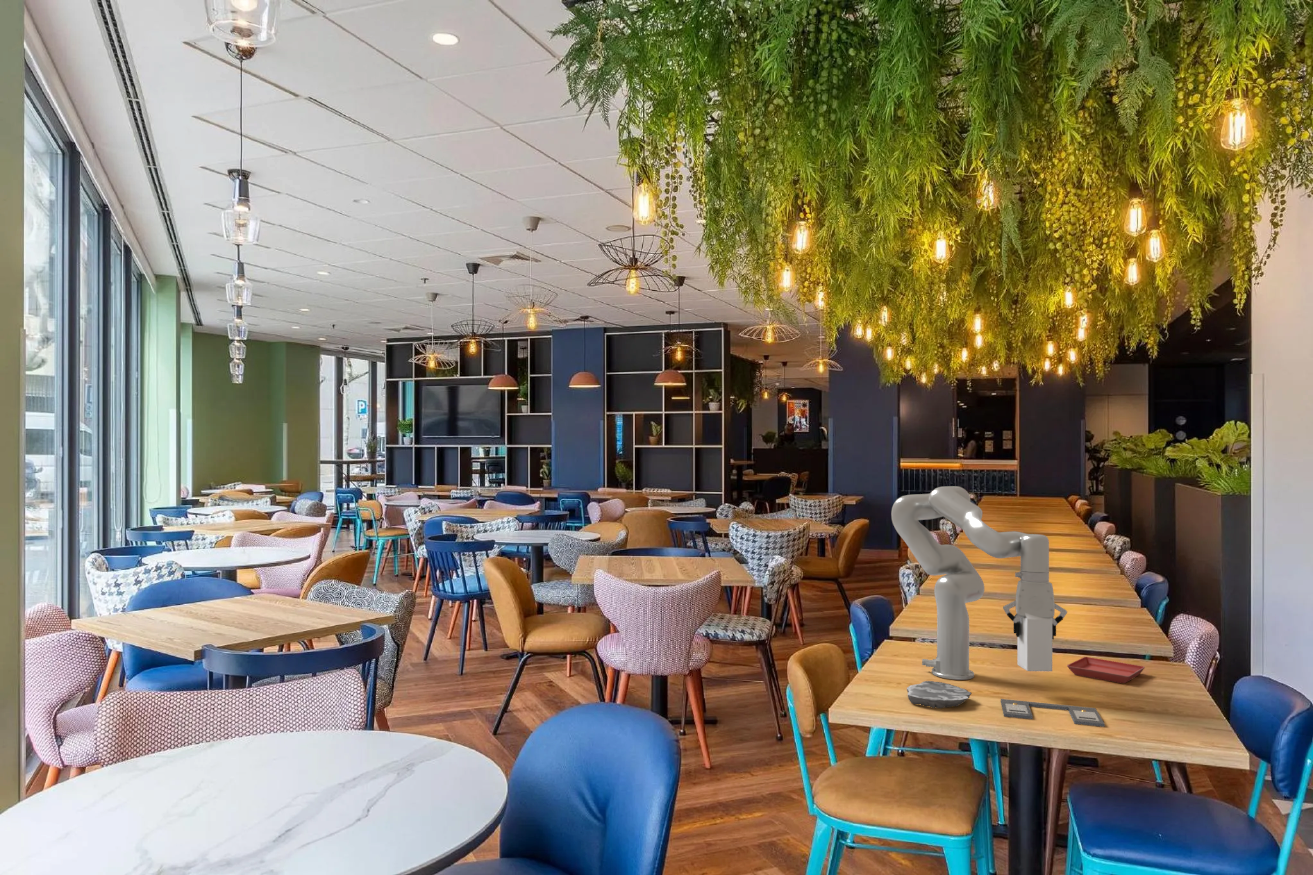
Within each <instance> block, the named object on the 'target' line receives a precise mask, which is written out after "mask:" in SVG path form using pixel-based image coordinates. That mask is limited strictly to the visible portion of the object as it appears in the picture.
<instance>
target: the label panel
mask: <svg viewBox="0 0 1313 875" xmlns="http://www.w3.org/2000/svg"><path fill="white" fill-rule="evenodd" d="M1000 704H1001V710H1002V715H1003V717H1006V718H1016V719H1025V720H1034V716H1033V714H1032V711H1031V708H1040V709H1041V708H1042V709H1049V710H1051V709H1052V710H1061V711H1063V710H1064V711H1068V713H1069V715H1070V717H1071V719H1072V721H1073V723H1074V725H1081V724H1082V725H1083V726H1090V727H1091V726H1092V727H1100V726H1101V727H1102V728H1105V726H1106V725H1105V722H1104V721H1103V718H1102V717H1101V715H1100V713H1099V712H1098V710H1097V709H1096V708H1095V707H1089V706H1078V705H1077V706H1076V705H1069V704H1068V705H1067V704H1058V703H1047V702H1036V701H1027V700H1018V699H1017V700H1015V699H1009V698H1008V699H1007V698H1005V699H1004V698H1000ZM1029 706H1030V707H1029ZM1082 725H1081V726H1082Z"/></svg>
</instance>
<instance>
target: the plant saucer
mask: <svg viewBox="0 0 1313 875" xmlns="http://www.w3.org/2000/svg"><path fill="white" fill-rule="evenodd" d="M1066 667H1067V668H1068V669H1069V670H1070V671H1071V673H1073V675H1074V676H1078V677H1079V676H1080V677H1085V678H1091V679H1094V680H1095V679H1096V680H1101V681H1107V682H1111V681H1112V683H1117V684H1122V683H1124V684H1126V683H1128V682H1130V680H1132V678H1133V679H1135V678H1136V677H1138V676H1139V675H1140V674H1141V673H1142V672H1143V670H1145V668H1146V667H1145V666H1142V665H1137V664H1131V663H1126V662H1120V661H1114V660H1107V659H1102V658H1095V657H1090V656H1089V657H1088V656H1084V657H1081V658H1079V659H1077V660H1075V661H1073V662H1071V663H1069V664H1067V665H1066Z"/></svg>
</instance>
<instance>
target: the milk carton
mask: <svg viewBox="0 0 1313 875" xmlns="http://www.w3.org/2000/svg"><path fill="white" fill-rule="evenodd" d="M1025 615H1026V617H1021V618H1020V620H1019V637H1017V636H1016V639H1017V645H1016V646H1017V653H1016V654H1017V660H1016V661H1017V666H1019V667H1020V668H1022V669H1023V670H1025V671H1026V672H1053V639H1052V618H1042V617H1037V616H1034V615H1030V614H1027V613H1025Z"/></svg>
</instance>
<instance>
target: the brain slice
mask: <svg viewBox="0 0 1313 875" xmlns="http://www.w3.org/2000/svg"><path fill="white" fill-rule="evenodd" d="M906 691H907V698H908V701H909V702H910V703H911V704H912V703H913V705H915V704H921V705H920V706H923V705H924V707H927V706H930V707H929V708H931V707H932V708H931V709H944V708H953V707H952V706H954V707H955V706H956V707H958V706H960V705H961V704H963V703H965V702H966V701H967V700H969V698H970V697H971V695H972V691H968V690H967V688H966V689H965V688H962V687H959V686H957V685H954V684H950V683H946V682H942V681H933V680H924V681H922V682H921V683H917V684H911V685H909V686H907V687H906ZM935 707H936V708H935Z"/></svg>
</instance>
